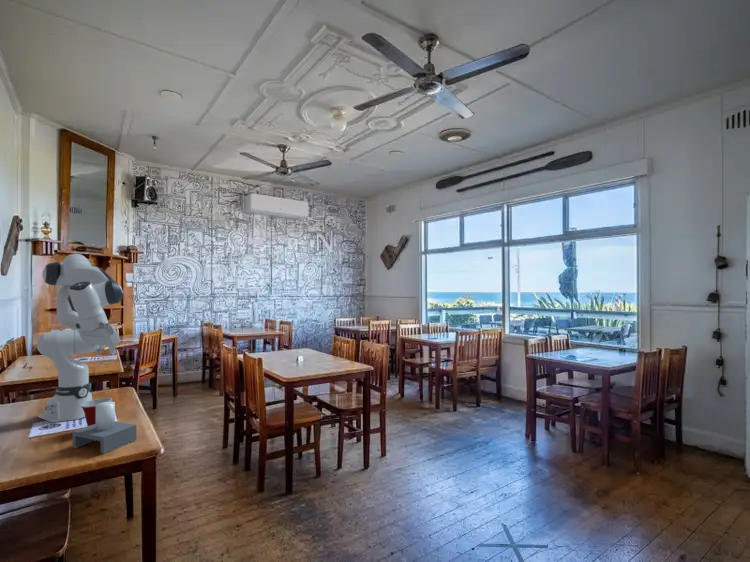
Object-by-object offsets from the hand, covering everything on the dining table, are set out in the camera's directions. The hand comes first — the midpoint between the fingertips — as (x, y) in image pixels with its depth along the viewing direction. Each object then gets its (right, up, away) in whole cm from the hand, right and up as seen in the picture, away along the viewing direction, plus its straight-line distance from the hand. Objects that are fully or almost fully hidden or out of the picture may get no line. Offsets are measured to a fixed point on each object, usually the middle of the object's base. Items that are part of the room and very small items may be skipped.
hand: (106, 353), depth 167 cm
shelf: (+8, -32, -13) cm, 35 cm away
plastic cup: (-5, -32, +1) cm, 32 cm away
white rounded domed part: (+8, -26, -13) cm, 30 cm away
